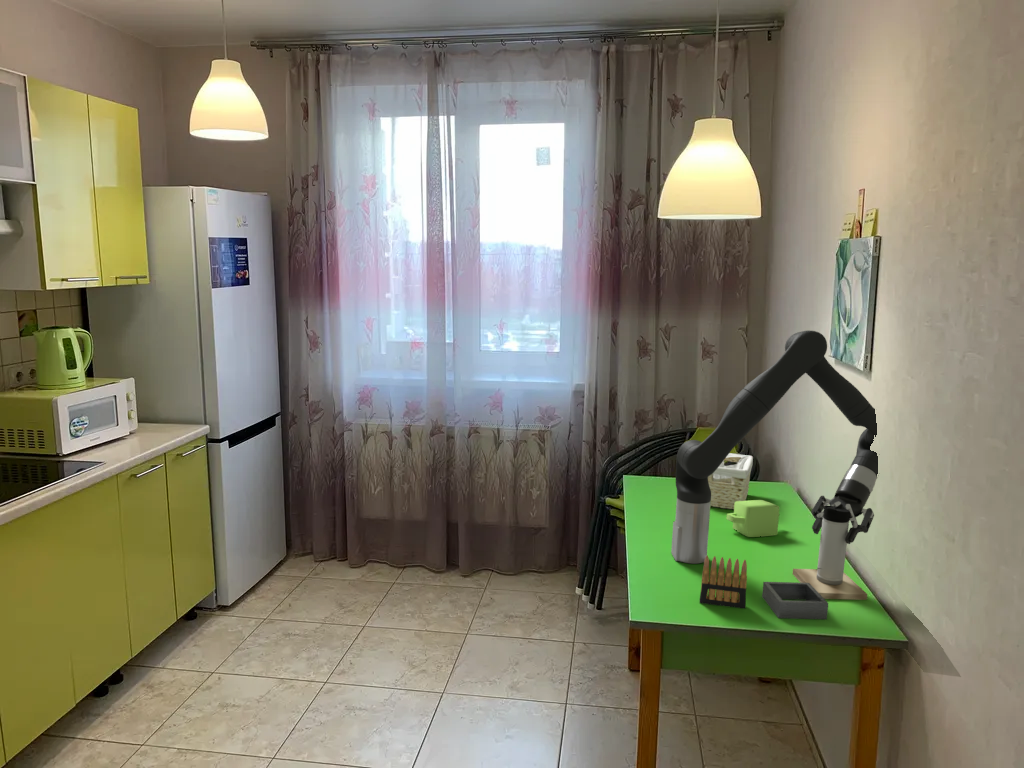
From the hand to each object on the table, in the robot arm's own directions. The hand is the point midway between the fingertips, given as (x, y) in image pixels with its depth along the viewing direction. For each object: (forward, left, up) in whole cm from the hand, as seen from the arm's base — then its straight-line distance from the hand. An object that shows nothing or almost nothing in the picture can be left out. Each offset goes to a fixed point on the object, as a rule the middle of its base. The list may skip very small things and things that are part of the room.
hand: (830, 537), depth 191 cm
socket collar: (-13, -12, -14) cm, 22 cm away
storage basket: (-5, +73, -14) cm, 74 cm away
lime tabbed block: (-5, +41, -14) cm, 44 cm away
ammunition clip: (-30, -11, -14) cm, 35 cm away
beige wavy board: (+1, +1, -14) cm, 14 cm away
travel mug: (+1, +1, -12) cm, 12 cm away
